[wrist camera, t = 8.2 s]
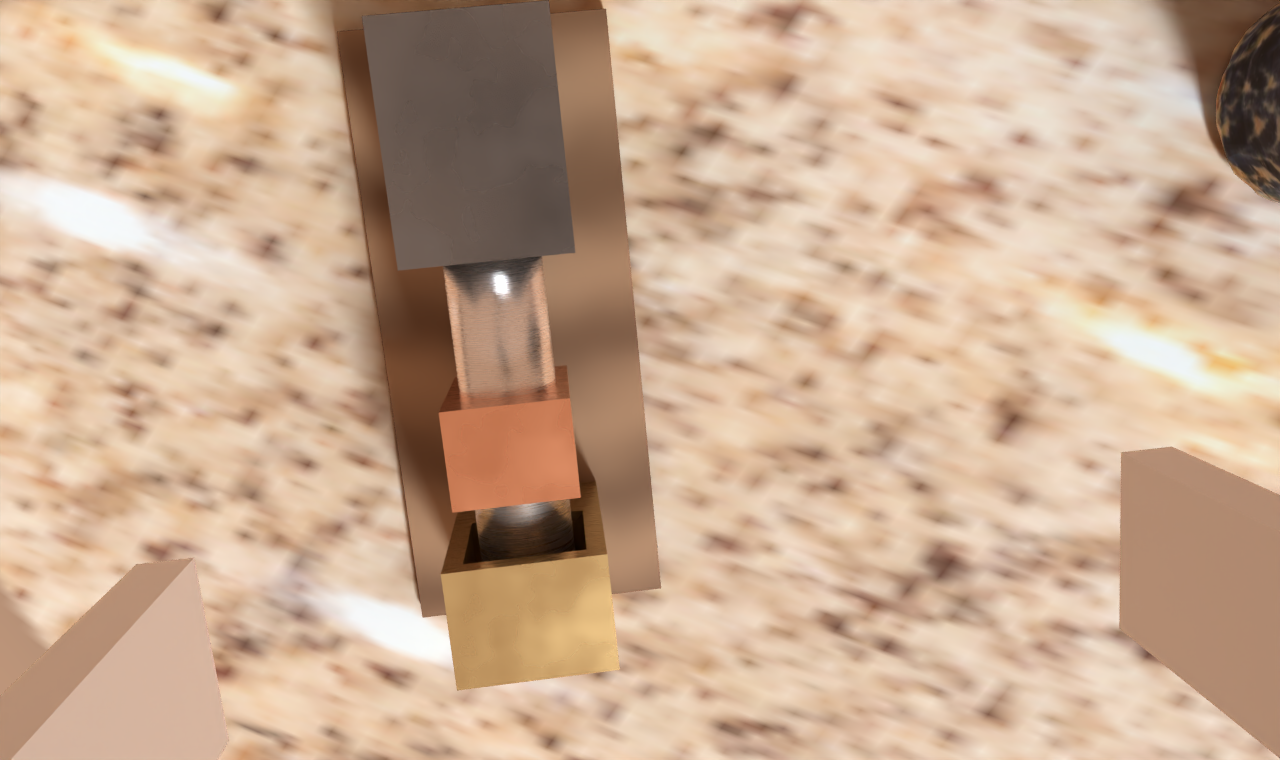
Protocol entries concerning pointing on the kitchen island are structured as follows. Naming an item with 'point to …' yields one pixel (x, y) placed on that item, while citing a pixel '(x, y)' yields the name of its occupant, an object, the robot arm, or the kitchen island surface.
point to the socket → (530, 605)
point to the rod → (508, 412)
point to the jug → (1253, 107)
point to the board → (578, 314)
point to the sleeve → (470, 133)
